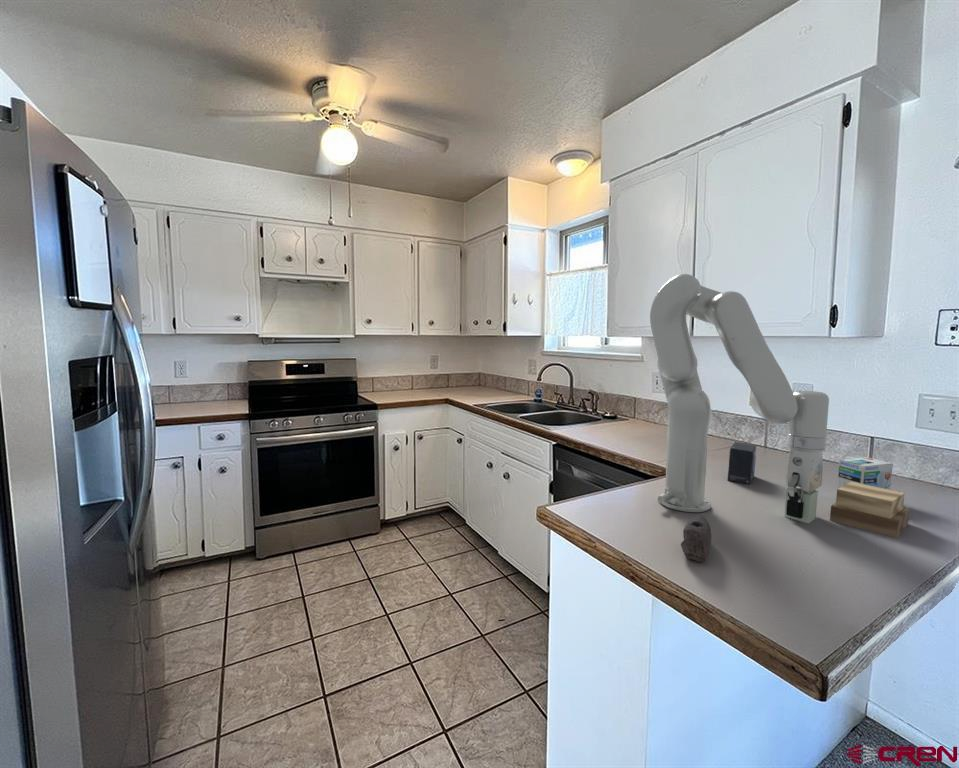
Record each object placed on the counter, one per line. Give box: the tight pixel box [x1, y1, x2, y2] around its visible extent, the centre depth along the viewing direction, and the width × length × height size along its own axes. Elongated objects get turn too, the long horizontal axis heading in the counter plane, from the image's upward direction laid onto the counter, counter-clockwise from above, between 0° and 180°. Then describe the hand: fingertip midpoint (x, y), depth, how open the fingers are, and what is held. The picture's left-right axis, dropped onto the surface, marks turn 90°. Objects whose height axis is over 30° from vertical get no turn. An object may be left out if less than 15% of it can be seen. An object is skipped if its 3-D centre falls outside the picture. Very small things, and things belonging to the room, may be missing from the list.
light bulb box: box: [836, 456, 894, 490], centre depth 121 cm, size 11×7×11 cm, turn 105°
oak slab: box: [835, 482, 906, 519], centre depth 106 cm, size 10×10×4 cm
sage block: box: [783, 486, 819, 524], centre depth 109 cm, size 5×5×7 cm
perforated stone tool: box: [680, 515, 712, 563], centre depth 92 cm, size 15×5×7 cm, turn 147°
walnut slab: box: [829, 502, 910, 539], centre depth 106 cm, size 12×12×4 cm
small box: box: [727, 441, 757, 485], centre depth 138 cm, size 11×6×10 cm, turn 143°
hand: (800, 512), depth 109 cm, fingers open, 7 cm apart
